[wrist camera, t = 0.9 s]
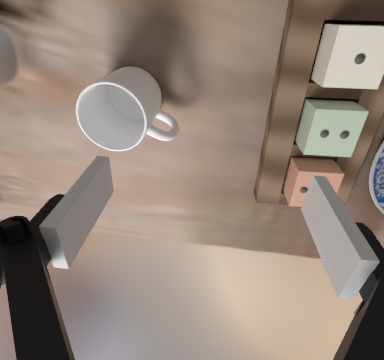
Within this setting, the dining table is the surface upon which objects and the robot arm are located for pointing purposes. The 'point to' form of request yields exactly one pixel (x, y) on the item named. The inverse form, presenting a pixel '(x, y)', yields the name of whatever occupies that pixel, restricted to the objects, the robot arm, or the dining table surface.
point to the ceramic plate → (377, 178)
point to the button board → (312, 94)
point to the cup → (123, 110)
